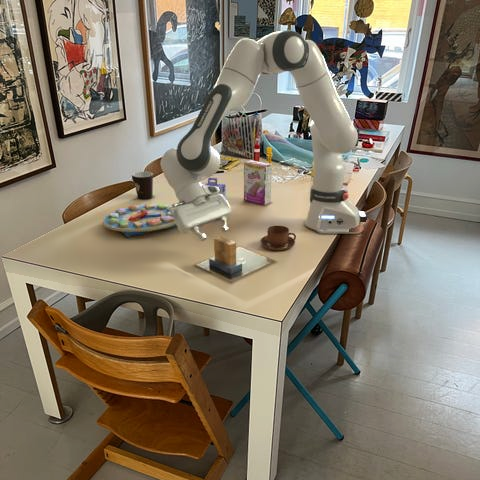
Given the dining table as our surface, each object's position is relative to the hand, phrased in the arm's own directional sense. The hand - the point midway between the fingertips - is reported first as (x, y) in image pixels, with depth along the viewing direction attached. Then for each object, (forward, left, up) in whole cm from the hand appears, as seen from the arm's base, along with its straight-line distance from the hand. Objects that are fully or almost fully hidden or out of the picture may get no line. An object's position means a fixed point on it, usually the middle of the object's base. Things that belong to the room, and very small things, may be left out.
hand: (215, 235), depth 150 cm
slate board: (-6, -1, -10) cm, 11 cm away
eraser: (-4, +3, -9) cm, 10 cm away
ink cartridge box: (+13, -42, -10) cm, 45 cm away
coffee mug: (+49, -58, -10) cm, 76 cm away
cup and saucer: (-17, -18, -10) cm, 27 cm away
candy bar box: (-1, -62, -10) cm, 63 cm away
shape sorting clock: (+36, -27, -10) cm, 46 cm away
